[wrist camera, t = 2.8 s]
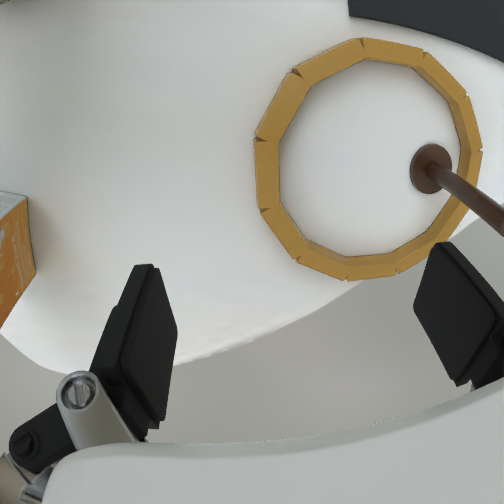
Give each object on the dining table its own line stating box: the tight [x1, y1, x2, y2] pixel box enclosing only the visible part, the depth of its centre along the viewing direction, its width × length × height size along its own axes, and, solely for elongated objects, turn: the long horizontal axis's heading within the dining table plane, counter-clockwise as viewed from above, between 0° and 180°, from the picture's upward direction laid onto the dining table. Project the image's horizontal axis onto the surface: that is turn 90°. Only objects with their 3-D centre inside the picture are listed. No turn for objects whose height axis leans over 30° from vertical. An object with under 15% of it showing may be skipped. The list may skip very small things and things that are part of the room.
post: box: [410, 144, 504, 237], centre depth 15 cm, size 4×4×9 cm
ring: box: [253, 37, 483, 281], centre depth 19 cm, size 18×18×1 cm
